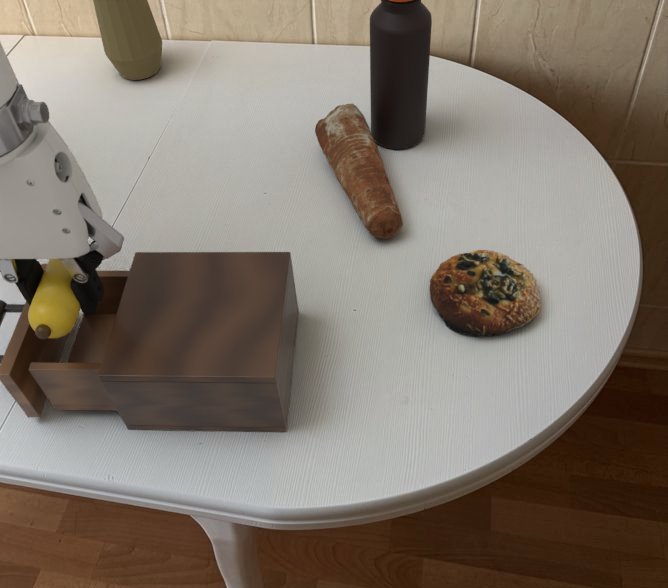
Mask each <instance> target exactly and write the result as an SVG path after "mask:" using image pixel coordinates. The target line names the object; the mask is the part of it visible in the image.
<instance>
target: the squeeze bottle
mask: <svg viewBox="0 0 668 588" xmlns="http://www.w3.org/2000/svg"><path fill="white" fill-rule="evenodd" d="M92 2H93V6H94V11H95V16H96V19H97V20H96V21H97V24H98V27H99V28H98V29H99V33H100V38H101V41H102V46H103V50H104V54H105V56H106V58H107V59H108V60H109V61H110V63H111V64H112V66H113V67H114V68H115V70H116V71H117V72H118V73H119V76H121V77H122V78H123V79H126V80H130V81H134V80H135V81H139V80H145V79H149V78H150V77H152V76H154V75H156V74H157V73H158V72H159V71H160V69H161V66H162V55H163V39H162V36H161V34H160V31H159V28H158V26H157V22H156V19H155V18H154V15H153V12H152V8H151V6H150V4H149V1H148V0H92Z"/></svg>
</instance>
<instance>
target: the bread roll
mask: <svg viewBox="0 0 668 588" xmlns="http://www.w3.org/2000/svg"><path fill="white" fill-rule="evenodd" d="M428 288H429V294H430V301H431V304H432V306H433V308H434V309H435V310H436V311H437V313H438V315H439V317H440V319H442V321H443V322H444V324H445V325H446V327H447V328H449V329H450V330H451V331H453V332H456V333H457V334H462V335H468V336H472V337H479V336H482V337H494V336H498V335H499V336H500V335H504V334H509V333H510V332H511V331H512V330H514V329H520V328H523V327H525V326H527V325H528V324H530V323H531V322H533V320H534V318H536V316H537V315H538V314H539V313H540V311H541V308H542V305H541V293H540V289H539V286H538V282H537V279H536V278H535V276H534V273H532V272H531V270H530V269H528V268H527V266H525V265H524V264H523V263H521V262H518V261H516V260H515V259H512V258H511V257H510V256H508V255H507V254H503V253H500V252H497V251H495V250H488V249H477V250H474V251H469V252H463V253H458V254H455V255H453V256H451V257H450V258H447V259H446V260H445V261H443V262H441V263H440V264H439V266H438V268H437V269H436V270H435V272H433V274H432V276H431V277H430V279H429V287H428Z"/></svg>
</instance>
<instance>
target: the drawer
mask: <svg viewBox="0 0 668 588" xmlns="http://www.w3.org/2000/svg"><path fill="white" fill-rule="evenodd" d="M40 265H41V266H42V268H43V270H44V271H45V268H46V266H47V263H40ZM96 271H97V273H98V276H99V278H100V280H101V282H102V284H103V287H104V295H103V298H102V300H101V301H99V302H98V305H97V308H96V311H95V314H94V315H86V314H84V312H83V310H82V308H80V311H81V312H82V313H83V314H82V317H81V320H80V324H79V326H78V329H77V331H76V335H75V338H74V341H73V343H72V347H71V350H70V352H69V355H68V359H67V360H66V362H61V360H62V357H63V354H64V351H65V348H66V345H67V343H68V340H69V337H70V334H71V331H70V332H69V333H68V334H66V335H65V336H62V337H60V338H46V339H40V338H38V337H37V336H36V334H35V331H34V330H33V329H32V327H31V325H30V323H29V320H28V311H29V308H30V306H29V304H28V302H27V301H26V300H25V303H7V302H6V301H4V300H2V299H0V327H1V326H2V324H3V321H4V319H5V317H6V314H7V313H11V314H12V313H13V314H14V313H16V314H17V313H20V315H19V317H18V320H17V323H16V325H15V327H14V330H13V332H12V334H11V338H10V340H9V341H8V342H9V343H8V344H7V347H6V349H5V351H4V354H0V382H1V384H2V385H3V386H4V387H5V389H6V390H7V392H8V394H10V395H11V398H13V399H14V401H15V402H16V404H18V406H19V407H20V409H21V410H22V412H23V413H24V414H25V416H27V418H41V417H42V414H43V411H44V408H45V405H46V403H47V400H48V401H49V402H50V404H51V405H52V407H53V408H54V409H55V410H60V411H61V410H66V411H67V410H69V411H70V410H71V411H80V410H81V411H117V409H116V408H115V406H114V404H113V402H112V400H111V399H110V397H109V395H108V393H107V392H106V390H105V388H104V386H103V384H102V383H101V380H100V379H99V377H98V373H99V370H100V367H101V364H102V360H103V357H104V354H105V351H106V347H107V344H108V341H109V337H110V334H111V331H112V328H113V324H114V321H115V318H116V314H117V311H118V308H119V305H120V301H121V298H122V295H123V291H124V288H125V285H126V282H127V278H128V275H129V272H130V270H96Z"/></svg>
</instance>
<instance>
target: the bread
mask: <svg viewBox="0 0 668 588" xmlns="http://www.w3.org/2000/svg"><path fill="white" fill-rule="evenodd" d="M314 133H315V136H316V139H317V142H318V144H319V147H320V149H321V151H322V153H323V155H324V156H325V158H326V160H327V162H328V164H329V166H330V168H331V170H332V172H333V173H334V175H335V177H336V179H337V181H338V182H339V184H340V186H341V187H342V189H343V191H344V192H345V195H346V196H347V198H348V200H349V201H350V203H351V205H352V206H353V208H354V210H355V212H356V213H357V216H358V217H359V218H360V220H361V221H362V223H363V226H364V227H365V228H366V230H367V232H368V233H369V235H371V236H373V237H376V238H378V239H384V240H386V239H390V238H392V237H394V236H395V235H397V233H398V232H400V230H401V228H402V227H403V225H404V223H403V218H402V217H403V216H402V214H401V211H400V208H399V206H398V203H397V200H396V196H395V192H394V191H393V188H392V186H391V182H390V179H389V176H388V174H387V172H386V168H385V165H384V163H383V160H382V157H381V154H380V152H379V150H378V144H377V142H376V141H374V139H373V137H372V134H371V128H370V126H369V123H368V122H367V120H366V118H365V115H364V114H363V113H362V111H361V110H360V109H359V107H358V106H357V105H355V104H354V103H346V104H339V105H337V106H335V107H334V109H332V110H331V111H329V113H328V114H327V115H326V116H325V117H324V118H321V119H320V120H318V121H317V123H316V125H315V128H314Z"/></svg>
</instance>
